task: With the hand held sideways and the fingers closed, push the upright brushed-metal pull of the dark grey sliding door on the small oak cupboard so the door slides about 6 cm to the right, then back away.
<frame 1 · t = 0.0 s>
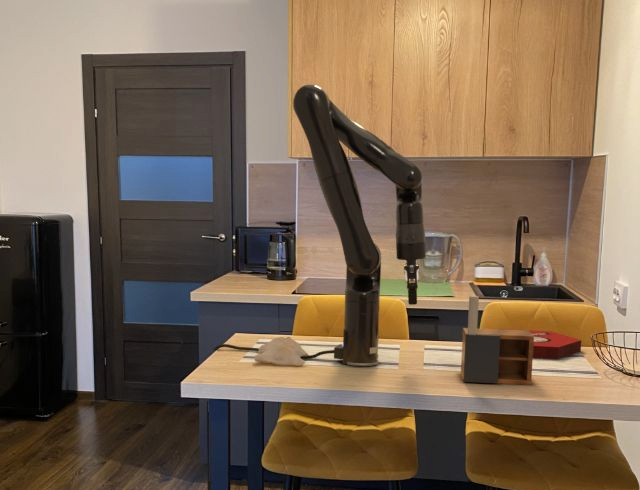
hand: (412, 302, 196), 17 cm above the table, tool pointing down, fingers open, 8 cm apart
sliding door: (482, 339, 178), point 11 cm above the table, slide at 0.0 cm
cupboard: (494, 379, 184), on the table
plaque: (526, 349, 222), on the table
arrowhead: (284, 355, 210), on the table
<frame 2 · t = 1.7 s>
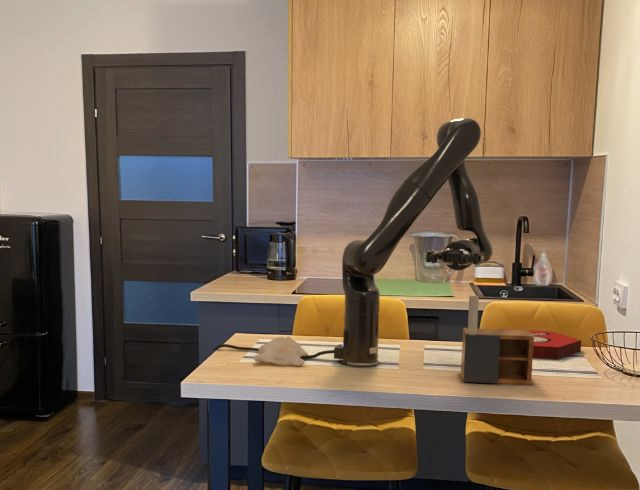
hand: (447, 259, 176), 30 cm above the table, tool horizontal, fingers open, 6 cm apart
nothing on the table moved.
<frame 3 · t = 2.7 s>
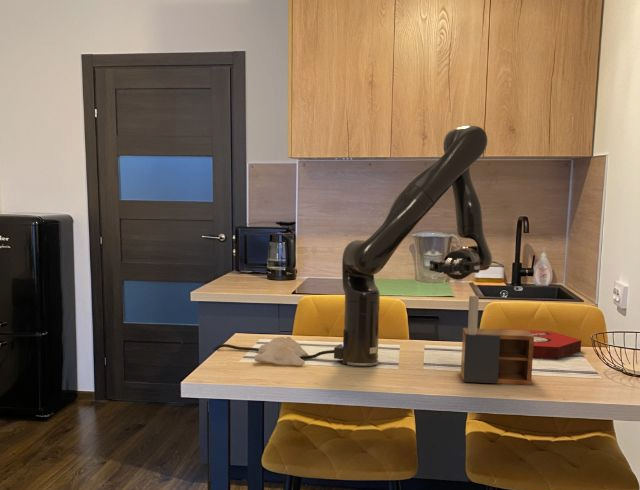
hand: (446, 269, 176), 28 cm above the table, tool horizontal, fingers closed
nothing on the table moved.
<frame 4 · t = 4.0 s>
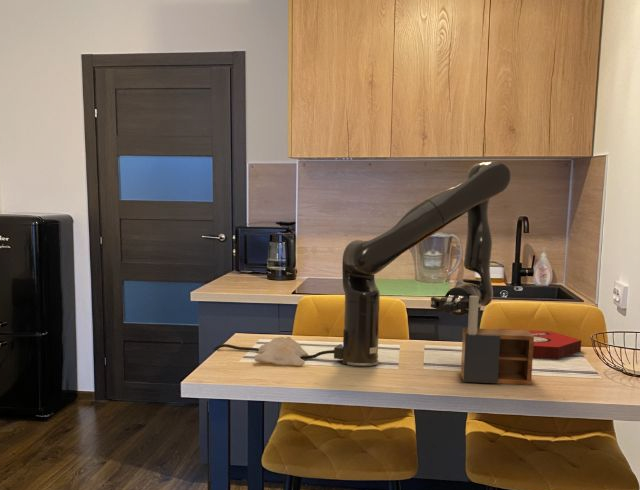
hand: (448, 308, 176), 19 cm above the table, tool horizontal, fingers closed
nothing on the table moved.
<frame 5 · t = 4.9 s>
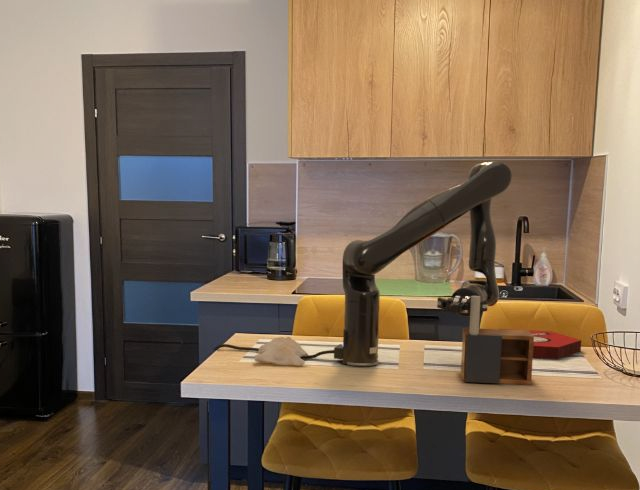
hand: (455, 308, 175), 18 cm above the table, tool horizontal, fingers closed
sliding door: (484, 339, 178), point 11 cm above the table, slide at 0.4 cm, touching hand
everything else where it was.
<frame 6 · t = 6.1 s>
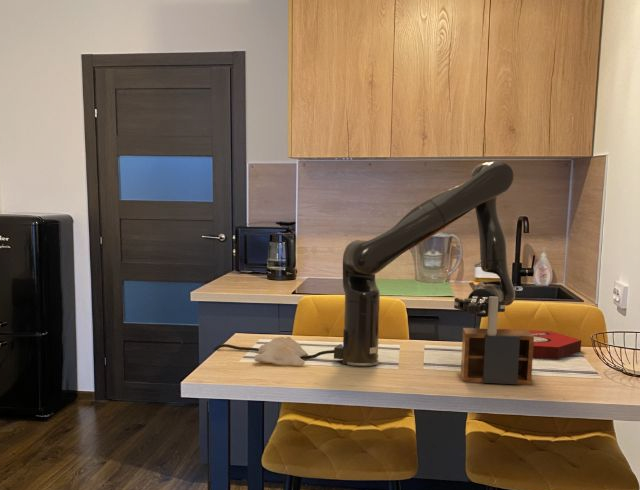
hand: (473, 309, 175), 18 cm above the table, tool horizontal, fingers closed
sliding door: (502, 340, 177), point 11 cm above the table, slide at 4.6 cm, touching hand
everything else where it was.
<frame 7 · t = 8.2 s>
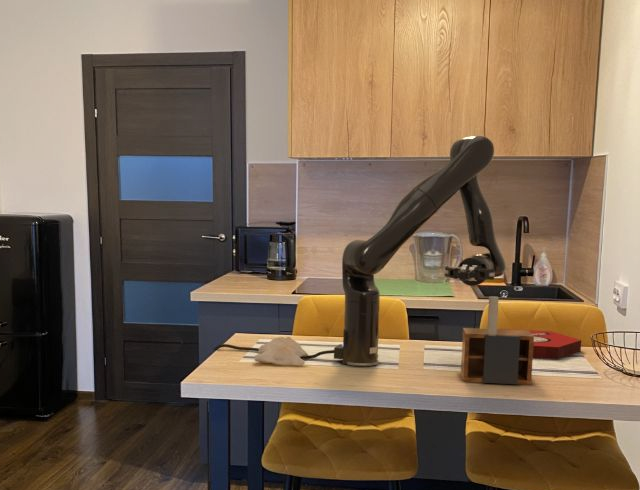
hand: (462, 275, 178), 26 cm above the table, tool horizontal, fingers closed
sliding door: (502, 340, 177), point 11 cm above the table, slide at 4.6 cm
everything else where it was.
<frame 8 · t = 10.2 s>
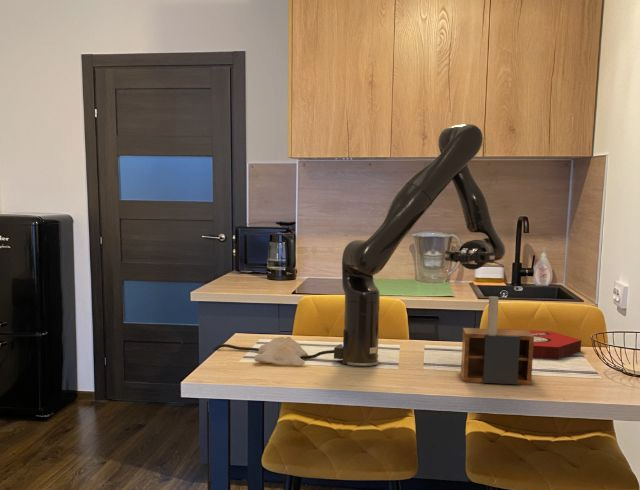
hand: (462, 258, 179), 30 cm above the table, tool horizontal, fingers closed
nothing on the table moved.
at the end: sliding door slide at 4.6 cm; the gripper is holding nothing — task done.
